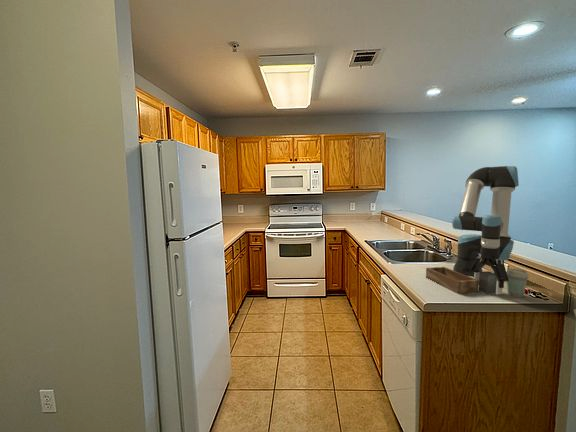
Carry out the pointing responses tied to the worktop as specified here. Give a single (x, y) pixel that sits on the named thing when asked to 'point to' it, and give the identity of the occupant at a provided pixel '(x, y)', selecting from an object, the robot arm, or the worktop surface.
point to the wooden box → (452, 280)
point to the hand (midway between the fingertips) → (487, 289)
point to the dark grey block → (487, 282)
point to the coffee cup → (516, 282)
